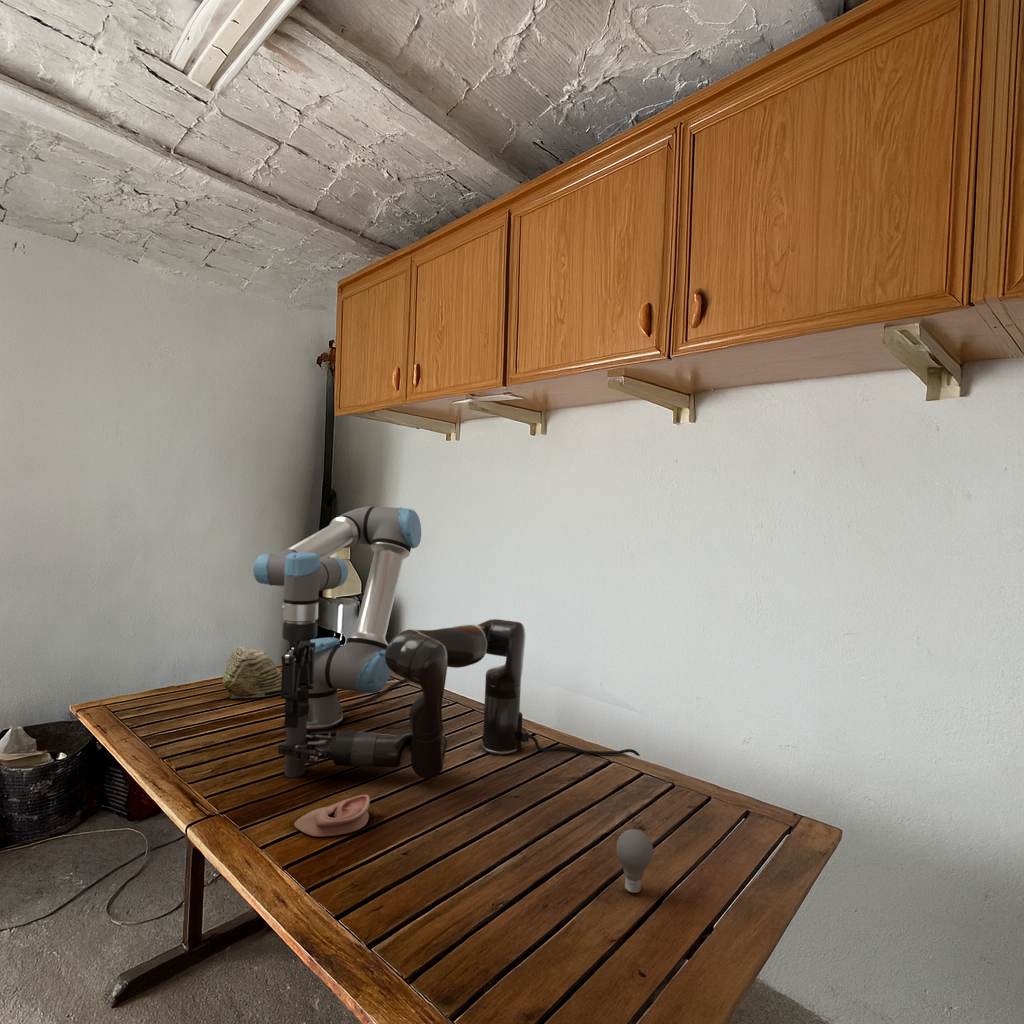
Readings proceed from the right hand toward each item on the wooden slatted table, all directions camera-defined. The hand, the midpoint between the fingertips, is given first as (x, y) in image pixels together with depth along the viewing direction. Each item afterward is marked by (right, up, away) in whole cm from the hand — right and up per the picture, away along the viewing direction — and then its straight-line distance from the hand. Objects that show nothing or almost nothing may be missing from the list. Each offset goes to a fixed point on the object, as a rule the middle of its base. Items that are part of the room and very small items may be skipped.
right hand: (284, 744), depth 144 cm
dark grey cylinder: (+2, -7, 0) cm, 7 cm away
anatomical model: (+17, -8, -21) cm, 28 cm away
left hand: (+3, +5, 0) cm, 6 cm away
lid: (+3, +9, 0) cm, 10 cm away
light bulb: (+72, -10, -39) cm, 83 cm away
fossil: (-29, -4, +54) cm, 61 cm away
